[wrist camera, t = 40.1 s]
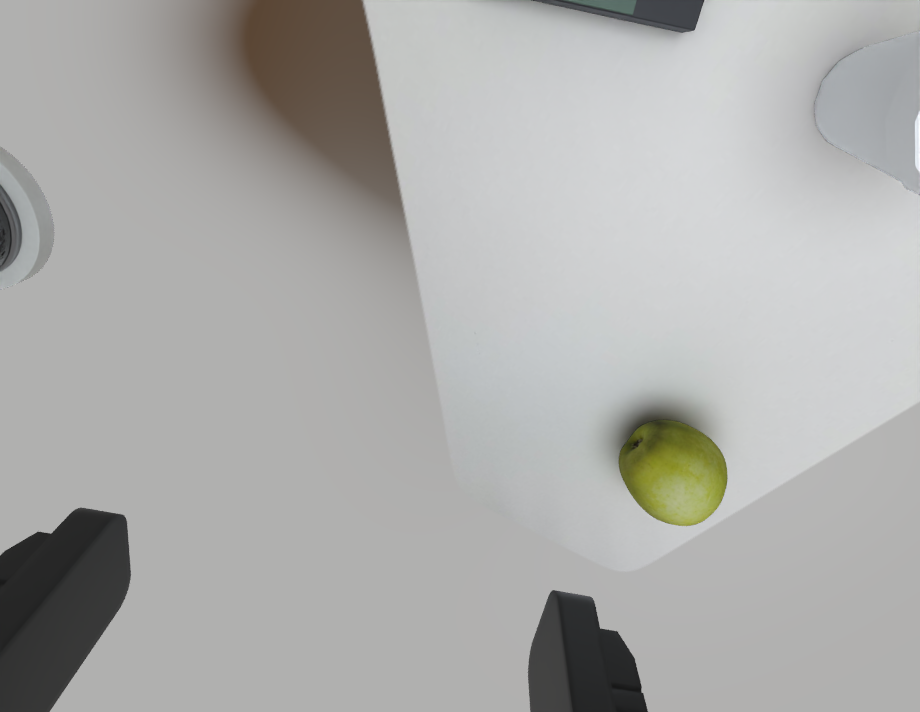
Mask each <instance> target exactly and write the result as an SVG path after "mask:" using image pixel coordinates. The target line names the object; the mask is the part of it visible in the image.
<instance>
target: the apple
mask: <svg viewBox="0 0 920 712" xmlns="http://www.w3.org/2000/svg"><path fill="white" fill-rule="evenodd" d="M619 469H620V473H621V476H622V478H623V480H624V482H625V484H626V486H627V488H628V490H629V492H630V493H631V495H632V496H633V498H634V499H635V500H636V502H637V503H638V504H639V505H640V506H641V507H642V508H643V509H644V510H645V511H646V512H647V513H648V514H650V515H651V516H652V517H654V518H656V519H658V520H660V521H663V522H665V523H669V524H673V525H679V526H691V525H695V524H698V523H700V522H702V521H704V520H705V519H707V518H708V517H709V516H710V515H711V514H712V513H713V512H714V511H715V510H716V509H717V508H718V506H719V504H720V503H721V501H722V498H723V496H724V493H725V489H726V485H727V467H726V462H725V459H724V456H723V454H722V453H721V451H720V449H719V448H718V447H717V445H716V444H715V443H714V442H713V441H712V440H711V439H710V438H708V437H707V436H706V435H704V434H703V433H701V432H700V431H698V430H696V429H694V428H692V427H690V426H688V425H686V424H683V423H680V422H677V421H671V420H655V421H651V422H648V423H646V424H643V425H641V426H640V427H639V428H638V429H637V430H636V431H635V432H634V433H633V434H632V436H631V437H630V438H629V439H628V441H627V443H626V444H625V445H624V446H623V447H622V449H621V451H620V455H619Z"/></svg>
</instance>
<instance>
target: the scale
mask: <svg viewBox="0 0 920 712" xmlns="http://www.w3.org/2000/svg"><path fill="white" fill-rule="evenodd" d="M533 1H538V2H542V3H547V4H552V5H556V6H561V7H566V8H570V9H575V10H579V11H584V12H589V13H593V14H598V15H603V16H607V17H612V18H616V19H621V20H626V21H630V22H635V23H640V24H644V25H649V26H653V27H658V28H663V29H667V30H672V31H677V32H681V33H683V32H689V31H694V30H695V27H696V24H697V21H698V18H699V15H700V12H701V9H702V5H703V2H704V0H533Z"/></svg>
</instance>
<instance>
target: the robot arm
mask: <svg viewBox="0 0 920 712" xmlns="http://www.w3.org/2000/svg"><path fill="white" fill-rule="evenodd" d="M21 242H22V229H21V223H20V219H19V216H18V213H17V210H16V208H15V206H14V204H13V202H12V200H11V199H10V197H9V195H8V194H7V192H6V191H5V190H4V188H3V187H2V186H1V185H0V272H1V271H3V270H5V269H6V268H7V267H9V266H10V265H11V264H12V263H13V262H14V260H15V259H16V257H17V255H18V253H19V251H20V247H21ZM130 576H131V571H130V557H129V544H128V530H127V521H126V518H125V517H124V515H121V514H115V513H109V512H104V511H98V510H92V509H86V508H78V509H76V510H74V511H73V512H72V513H71V514H70V515H69V516H68V517H67V518H66V519H65V520H64V521H63V522H62V523H61V524H60V525H59V526H58V527H57V529H55V531H54V532H53V533H52V534H49V533H42V532H37V533H35V534H34V535H32V536H30V537H28V538H27V539H25V540H23V541H21V542H20V543H18V544H16V545H15V546H13V547H11V548H10V549H8V550H6V551H5V552H4V553H3V554H2V555H1V556H0V712H50V710H51V709H52V707H53V706H54V704H55V703H56V701H57V700H58V698H59V697H60V695H61V694H62V692H63V691H64V689H65V688H66V687H67V685H68V684H69V682H70V681H71V679H72V678H73V676H74V675H75V673H76V672H77V670H78V669H79V667H80V666H81V664H82V663H83V662H84V660H85V659H86V657H87V656H88V654H89V653H90V651H91V650H92V648H93V647H94V645H95V644H96V642H97V641H98V640H99V638H100V637H101V635H102V634H103V632H104V631H105V629H106V628H107V626H108V625H109V623H110V622H111V620H112V619H113V618H114V616H115V614H116V613H117V612H118V610H119V609H120V607H121V605H122V603H123V601H124V599H125V596H126V594H127V591H128V587H129V583H130ZM528 680H529V696H530V710H531V712H648V711H647V707H646V703H645V699H644V695H643V693H641V683H640V679H639V675H638V671H637V667H636V663H635V659H634V657H633V655H632V654H631V652H630V651H629V649H628V648H627V646H626V644H625V643H624V641H623V640H622V638H621V637H620V635H619V634H618V632H617V631H611V630H605V629H600V627H599V622H598V617H597V612H596V607H595V603H594V600H593V598H592V597H589V596H583V595H578V594H572V593H566V592H560V591H555V590H553V591H552V592H551V593H550V595H549V597H548V599H547V602H546V605H545V608H544V611H543V614H542V616H541V619H540V622H539V625H538V628H537V631H536V633H535V637H534V639H533V642H532V646H531V651H530V657H529V668H528Z"/></svg>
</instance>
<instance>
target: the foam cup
mask: <svg viewBox="0 0 920 712" xmlns="http://www.w3.org/2000/svg"><path fill="white" fill-rule="evenodd" d="M814 108H815V122H816V126H817V128H818V129H819V131H820V132H821V134H822V135H823V137H824V138H825V140H826V141H827V142H830V144H832V145H834V146H836V147H838V148H840V149H842V150H843V151H845V152H847V153H849V154H851V155H853V156H854V157H856V158H858V159H860V160H862V161H864V162H866V163H867V164H869V165H871V166H873V167H875V168H877V169H879V170H880V171H882V172H884V173H886V174H888V175H890V176H892V177H893V178H895V179H897V180H899V181H901V182H902V184H903V185H904V187H905V188H906V189H907V190H909V191H912V192H914V193H917V194H919V195H920V31H917V32H913V33H910V34H907V35H903V36H900V37H897V38H893V39H890V40H886V41H883V42H880V43H876V44H873V45H870V46H867V47H865V48H861V49H859V50H858V51H856V52H854V53H852V54H851V55H849V56H847V57H845V58H843V59H842V60H840V61H839V62H838V63H837V64H836V65H835V67H834V68H833V69H832V70H831V71H830V73H829V74H828V75H827V76H826V77H825V78H824V80H823V81H822V83H821V86H820V89H819V92H818V95H817V97H816V100H815V103H814Z"/></svg>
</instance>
